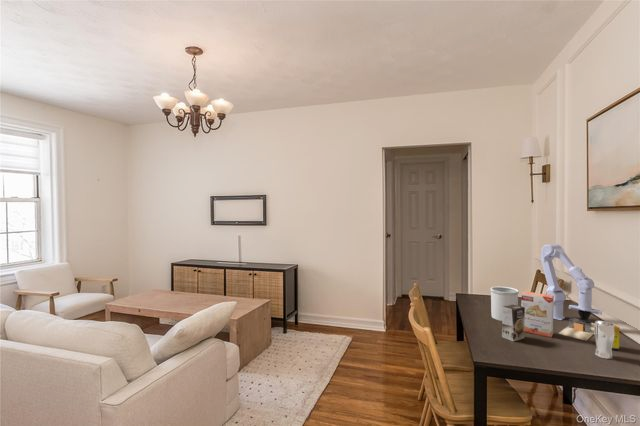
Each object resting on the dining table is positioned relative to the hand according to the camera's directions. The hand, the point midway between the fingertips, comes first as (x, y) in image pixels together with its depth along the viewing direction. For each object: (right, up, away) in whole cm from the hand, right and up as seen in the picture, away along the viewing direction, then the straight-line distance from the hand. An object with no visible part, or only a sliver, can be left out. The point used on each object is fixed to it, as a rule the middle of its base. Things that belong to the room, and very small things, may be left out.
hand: (584, 324), depth 189 cm
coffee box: (-50, -2, -17) cm, 53 cm away
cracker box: (-34, -1, -11) cm, 35 cm away
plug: (-5, -1, -4) cm, 7 cm away
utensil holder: (-38, -1, +13) cm, 41 cm away
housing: (-7, -1, -6) cm, 9 cm away
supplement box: (-11, -2, -28) cm, 30 cm away
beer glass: (-21, -2, -37) cm, 43 cm away
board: (-6, -1, -5) cm, 8 cm away
